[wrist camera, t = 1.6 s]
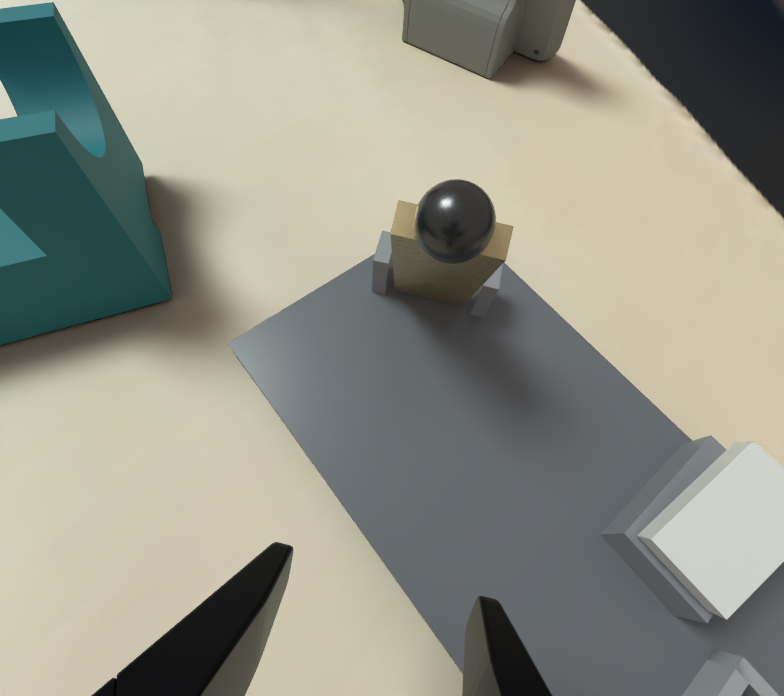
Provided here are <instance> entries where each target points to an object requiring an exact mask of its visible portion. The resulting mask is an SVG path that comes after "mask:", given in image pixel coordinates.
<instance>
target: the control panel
mask: <svg viewBox="0 0 784 696" xmlns="http://www.w3.org/2000/svg"><path fill="white" fill-rule="evenodd" d="M228 345H229V346H230V348H231V349H232V351H233V352H234V354H235V355H236V357H237V358H238V359H239V361H240V362H241V364H242V365H243V366H244V368H245V369H246V371H247V372H248V373H249V375H250V376H251V378H252V379H253V380H254V382H255V383H256V385H257V386H258V387H259V389H260V390H261V392H262V393H263V394H264V396H265V397H266V399H267V400H268V401H269V403H270V404H271V406H272V407H273V408H274V410H275V411H276V413H277V414H278V415H279V417H280V418H281V420H282V421H283V422H284V424H285V425H286V427H287V428H288V429H289V431H290V432H291V434H292V435H293V436H294V438H295V439H296V441H297V442H298V443H299V445H300V446H301V448H302V449H303V450H304V452H305V453H306V455H307V456H308V458H309V459H310V460H311V462H312V463H313V465H314V466H315V467H316V469H317V470H318V472H319V473H320V474H321V476H322V477H323V479H324V480H325V481H326V483H327V484H328V486H329V487H330V488H331V490H332V491H333V493H334V494H335V495H336V497H337V498H338V500H339V501H340V502H341V504H342V505H343V507H344V508H345V509H346V511H347V512H348V514H349V515H350V516H351V518H352V519H353V521H354V522H355V523H356V525H357V526H358V528H359V529H360V530H361V532H362V533H363V535H364V536H365V537H366V539H367V540H368V542H369V543H370V544H371V546H372V547H373V549H374V550H375V551H376V553H377V554H378V556H379V557H380V558H381V560H382V561H383V563H384V564H385V565H386V567H387V568H388V570H389V571H390V572H391V574H392V575H393V577H394V578H395V579H396V581H397V582H398V584H399V585H400V586H401V588H402V589H403V591H404V592H405V593H406V595H407V596H408V598H409V599H410V600H411V602H412V603H413V605H414V606H415V608H416V609H417V610H418V612H419V613H420V615H421V616H422V617H423V619H424V620H425V622H426V623H427V624H428V626H429V627H430V629H431V630H432V631H433V633H434V634H435V636H436V637H437V638H438V640H439V641H440V643H441V644H442V645H443V647H444V648H445V650H446V651H447V652H448V654H449V655H450V657H451V658H452V659H453V661H454V662H455V664H456V665H457V666H458V668H459V669H460V671H461V672H462V673H463V671H464V645H465V630H466V625H467V621H468V619H469V616H470V614H471V611H472V608H473V606H474V603H475V601H476V599H477V597H478V596H485V597H489V598H493V599H496V600H498V601H499V602H500V604H501V605H502V607H503V609H504V610H505V612H506V614H507V616H508V618H509V619H510V621H511V623H512V625H513V626H514V628H515V630H516V632H517V633H518V635H519V637H520V639H521V640H522V642H523V644H524V646H525V648H526V649H527V651H528V653H529V655H530V656H531V658H532V660H533V662H534V663H535V665H536V667H537V669H538V670H539V672H540V674H541V676H542V678H543V679H544V681H545V683H546V685H547V686H548V688H549V690H550V692H551V693H552V695H553V696H784V562H783V563H782V564H781V565H780V566H779V567H778V568H777V569H776V570H775V571H774V572H773V573H772V574H771V575H770V576H769V577H768V578H767V579H766V580H765V581H764V582H763V583H762V584H761V585H760V586H759V587H758V588H757V589H756V590H755V591H754V592H753V594H752V595H751V596H750V597H749V598H748V599H747V600H746V601H745V602H744V603H743V604H742V605H741V606H740V607H739V608H738V609H737V610H736V611H735V612H734V613H733V614H732V615H731V616H730V617H729V618H728V619H727V620H726V619H724V618H722V617H720V616H718V615H716V614H713V613H711V612H709V611H707V610H706V609H705V608H704V607H703V606H702V605H701V603H700V602H699V601H698V600H697V599H696V598H695V597H694V596H693V595H692V594H691V593H690V592H689V591H688V589H687V588H686V587H685V586H684V585H683V584H682V583H681V582H680V581H679V580H678V579H677V578H676V577H675V576H674V574H673V573H672V572H671V571H670V570H669V569H668V568H667V567H666V566H665V565H664V564H663V563H662V562H661V561H660V559H659V558H658V557H657V556H656V555H655V554H654V553H653V552H652V551H651V550H650V549H649V548H648V547H647V545H646V544H645V543H644V542H643V541H642V540H641V539H640V538H639V537H638V536H637V535H638V534H639V533H640V532H641V531H642V530H643V529H644V528H645V527H646V526H648V525H649V524H650V523H651V522H652V521H653V520H654V519H655V518H656V517H657V516H658V515H659V514H660V513H661V512H662V511H663V510H664V509H665V508H666V507H667V506H668V505H670V504H671V503H672V502H673V501H674V500H675V499H676V498H677V497H678V496H679V495H680V494H681V493H682V492H683V491H684V490H685V489H686V488H687V487H688V486H689V485H690V484H692V483H693V482H694V481H695V480H696V479H697V478H698V477H699V476H700V475H701V474H702V473H703V472H704V471H705V470H706V469H707V468H708V467H709V466H710V465H711V464H712V463H714V462H715V461H716V460H717V459H718V458H719V457H720V456H721V455H722V454H723V453H724V452H725V451H726V449H725V448H724V447H723V446H722V445H721V444H720V443H719V442H718V441H716V440H715V439H714V438H713V437H712V436H707V437H704V438H701V439H698V440H694V441H692V440H691V439H690V438H689V437H688V436H687V435H686V434H685V433H683V432H682V431H681V430H680V429H679V428H678V427H677V426H676V425H675V424H674V423H673V422H672V421H671V420H670V419H669V418H668V417H667V416H666V415H664V414H663V413H662V412H661V411H660V410H659V409H658V408H657V407H656V406H655V405H654V404H653V403H652V402H651V401H650V400H649V399H648V398H647V397H645V396H644V395H643V394H642V393H641V392H640V391H639V390H638V389H637V388H636V387H635V386H634V385H633V384H632V383H631V382H630V381H629V380H628V379H626V378H625V377H624V376H623V375H622V374H621V373H620V372H619V371H618V370H617V369H616V368H615V367H614V366H613V365H612V364H611V363H610V362H609V361H607V360H606V359H605V358H604V357H603V356H602V355H601V354H600V353H599V352H598V351H597V350H596V349H595V348H594V347H593V346H592V345H591V344H590V343H588V342H587V341H586V340H585V339H584V338H583V337H582V336H581V335H580V334H579V333H578V332H577V331H576V330H575V329H574V328H573V327H572V326H571V325H569V324H568V323H567V322H566V321H565V320H564V319H563V318H562V317H561V316H560V315H559V314H558V313H557V312H556V311H555V310H554V309H553V308H552V307H550V306H549V305H548V304H547V303H546V302H545V301H544V300H543V299H542V298H541V297H540V296H539V295H538V294H537V293H536V292H535V291H534V290H532V289H531V288H530V287H529V286H528V285H527V284H526V283H525V282H524V281H523V280H522V279H521V278H520V277H519V276H518V275H517V274H516V273H515V272H513V271H512V270H511V269H510V268H509V267H508V266H507V265H506V264H505V263H503V264H502V265H501V266H500V267H499V268H498V269H497V270H496V271H495V272H494V273H493V275H492V276H491V277H490V278H489V279H488V280H487V281H486V282H485V283H484V284H483V285H482V286H481V288H480V289H479V290H478V291H477V292H476V293H475V294H474V295H473V296H472V297H471V298H470V299H469V301H468V302H467V303H466V304H465V305H464V306H463V307H462V306H458V305H453V304H449V303H445V302H441V301H436V300H432V299H428V298H424V297H419V296H415V295H411V294H407V293H402V292H398V291H395V284H394V272H393V260H392V248H391V235H390V232H386V231H382V233H381V237H380V240H379V243H378V246H377V249H376V253H375V254H374V255H372V256H371V257H369V258H367V259H366V260H364V261H362V262H361V263H359V264H357V265H356V266H354V267H352V268H351V269H349V270H347V271H346V272H344V273H343V274H341V275H339V276H338V277H336V278H334V279H333V280H331V281H329V282H328V283H326V284H324V285H323V286H321V287H319V288H318V289H316V290H315V291H313V292H311V293H310V294H308V295H306V296H305V297H303V298H301V299H300V300H298V301H296V302H295V303H293V304H292V305H290V306H288V307H287V308H285V309H283V310H282V311H280V312H278V313H277V314H275V315H273V316H272V317H270V318H268V319H267V320H265V321H264V322H262V323H260V324H259V325H257V326H255V327H254V328H252V329H250V330H249V331H247V332H245V333H244V334H242V335H240V336H239V337H237V338H236V339H234V340H232V341H231V342H229V343H228Z"/></svg>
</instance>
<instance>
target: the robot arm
mask: <svg viewBox="0 0 784 696" xmlns="http://www.w3.org/2000/svg"><path fill="white" fill-rule="evenodd" d="M292 556H293V547H292V546H290V545H286V544H282V543H278V542H275V543H273V544H271V545H270V546H269V547H268V548H266V549H265V550H264V551H263V552H262V553H260V554H259V555H258V556H257V557H256V558H255V559H253V560H252V561H251V562H250V563H249V564H247V565H246V566H245V567H244V568H243V569H242V570H240V571H239V572H238V573H237V574H236V575H234V576H233V577H232V578H231V579H230V580H228V581H227V582H226V583H225V584H224V585H223V586H221V587H220V588H219V589H218V590H217V591H215V592H214V593H213V594H212V595H211V596H209V597H208V598H207V599H206V600H205V601H204V602H202V603H201V604H200V605H199V606H198V607H196V608H195V609H194V610H193V611H192V612H190V613H189V614H188V615H187V616H186V617H185V618H183V619H182V620H181V621H180V622H179V623H177V624H176V625H175V626H174V627H173V628H171V629H170V630H169V631H168V632H167V633H166V634H164V635H163V636H162V637H161V638H160V639H158V640H157V641H156V642H155V643H154V644H153V645H151V646H150V647H149V648H148V649H147V650H145V651H144V652H143V653H142V654H141V655H139V656H138V657H137V658H136V659H135V660H134V661H132V662H131V663H130V664H129V665H128V666H126V667H125V668H124V669H123V670H122V671H120V672H119V673H118V674H117V679H116V678H112V679H111V680H109V681H108V682H107V683H106V684H105V685H104V686H102V687H101V688H100V689H99V690H98V691H96V692H95V693H94V694H93V695H92V696H245V694H246V692H247V689H248V687H249V685H250V683H251V681H252V678H253V676H254V674H255V672H256V669H257V667H258V664H259V662H260V659H261V657H262V654H263V651H264V648H265V645H266V643H267V640H268V637H269V634H270V631H271V628H272V626H273V623H274V620H275V617H276V614H277V611H278V608H279V606H280V603H281V600H282V597H283V594H284V591H285V589H286V586H287V582H288V578H289V573H290V568H291V562H292ZM463 696H553V695H552V693H551V692H550V690H549V688H548V686H547V685H546V683H545V681H544V679H543V678H542V676H541V674H540V672H539V670H538V669H537V667H536V665H535V663H534V662H533V660H532V658H531V656H530V655H529V653H528V651H527V649H526V648H525V646H524V644H523V642H522V640H521V639H520V637H519V635H518V633H517V632H516V630H515V628H514V626H513V625H512V623H511V621H510V619H509V618H508V616H507V614H506V612H505V610H504V609H503V607H502V605H501V604H500V602H499V601H498V600H496V599H493V598H489V597H485V596H478V597H477V599H476V601H475V603H474V606H473V608H472V611H471V614H470V616H469V619H468V621H467V625H466V630H465V645H464V671H463Z"/></svg>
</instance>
